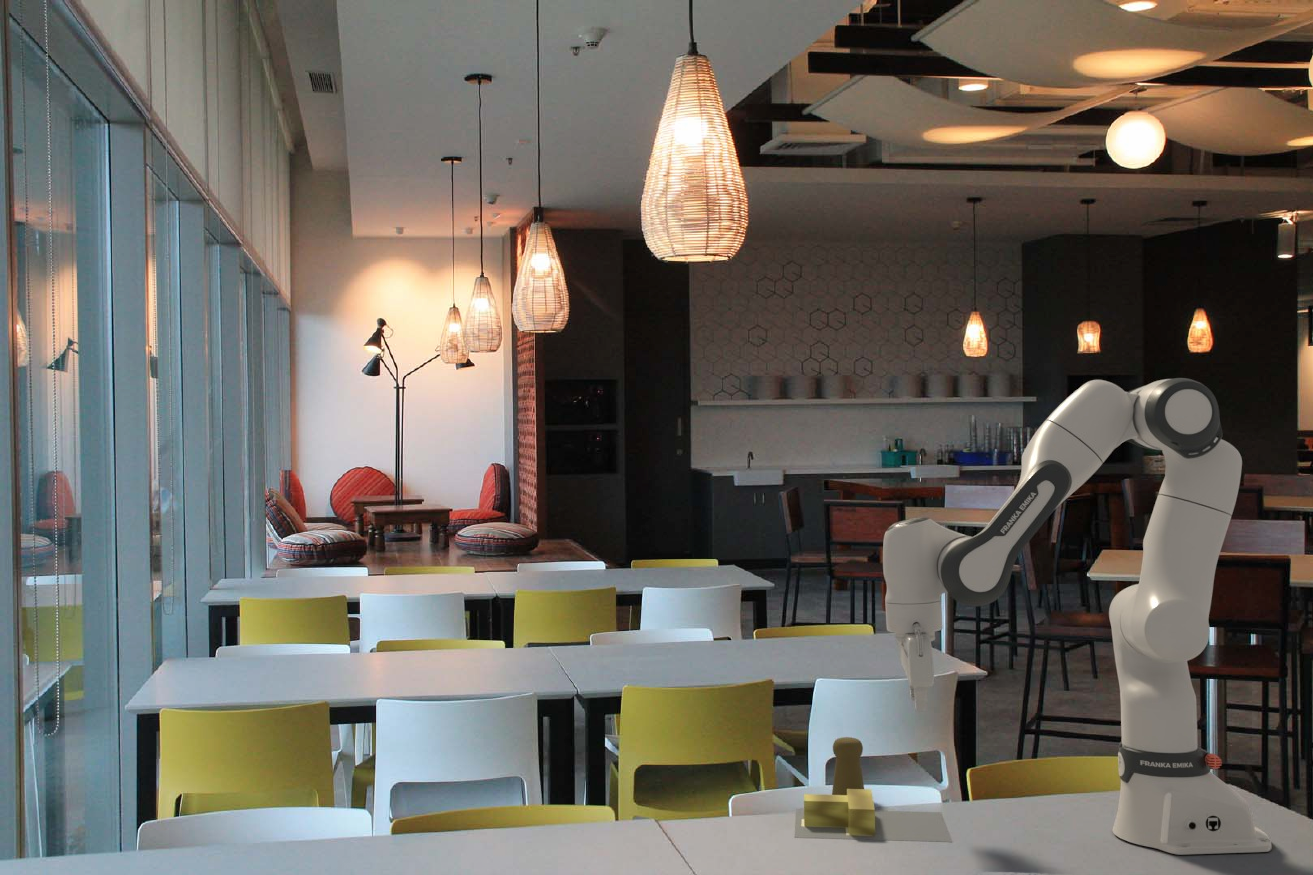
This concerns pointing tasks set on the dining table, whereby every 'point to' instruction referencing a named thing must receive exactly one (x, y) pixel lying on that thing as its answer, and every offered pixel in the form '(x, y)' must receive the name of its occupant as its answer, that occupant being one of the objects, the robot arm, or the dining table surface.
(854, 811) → the t block
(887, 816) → the board
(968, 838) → the dining table surface
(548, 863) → the dining table surface
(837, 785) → the cork
